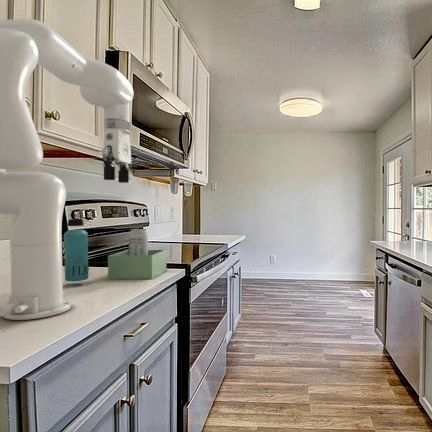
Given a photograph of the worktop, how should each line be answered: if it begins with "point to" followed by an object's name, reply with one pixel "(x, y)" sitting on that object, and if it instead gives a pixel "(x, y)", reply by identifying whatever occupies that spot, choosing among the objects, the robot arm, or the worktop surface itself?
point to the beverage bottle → (76, 252)
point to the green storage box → (136, 265)
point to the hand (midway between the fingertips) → (116, 181)
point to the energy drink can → (138, 242)
